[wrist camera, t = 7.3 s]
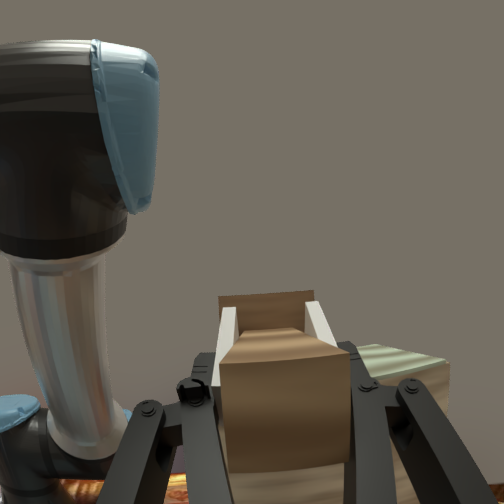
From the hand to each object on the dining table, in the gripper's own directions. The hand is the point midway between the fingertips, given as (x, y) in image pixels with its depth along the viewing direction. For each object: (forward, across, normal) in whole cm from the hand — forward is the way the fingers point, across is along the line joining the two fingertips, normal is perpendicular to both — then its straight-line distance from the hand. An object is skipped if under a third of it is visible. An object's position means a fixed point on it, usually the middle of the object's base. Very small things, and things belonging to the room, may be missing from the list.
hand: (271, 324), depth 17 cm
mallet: (+1, 0, -7) cm, 7 cm away
